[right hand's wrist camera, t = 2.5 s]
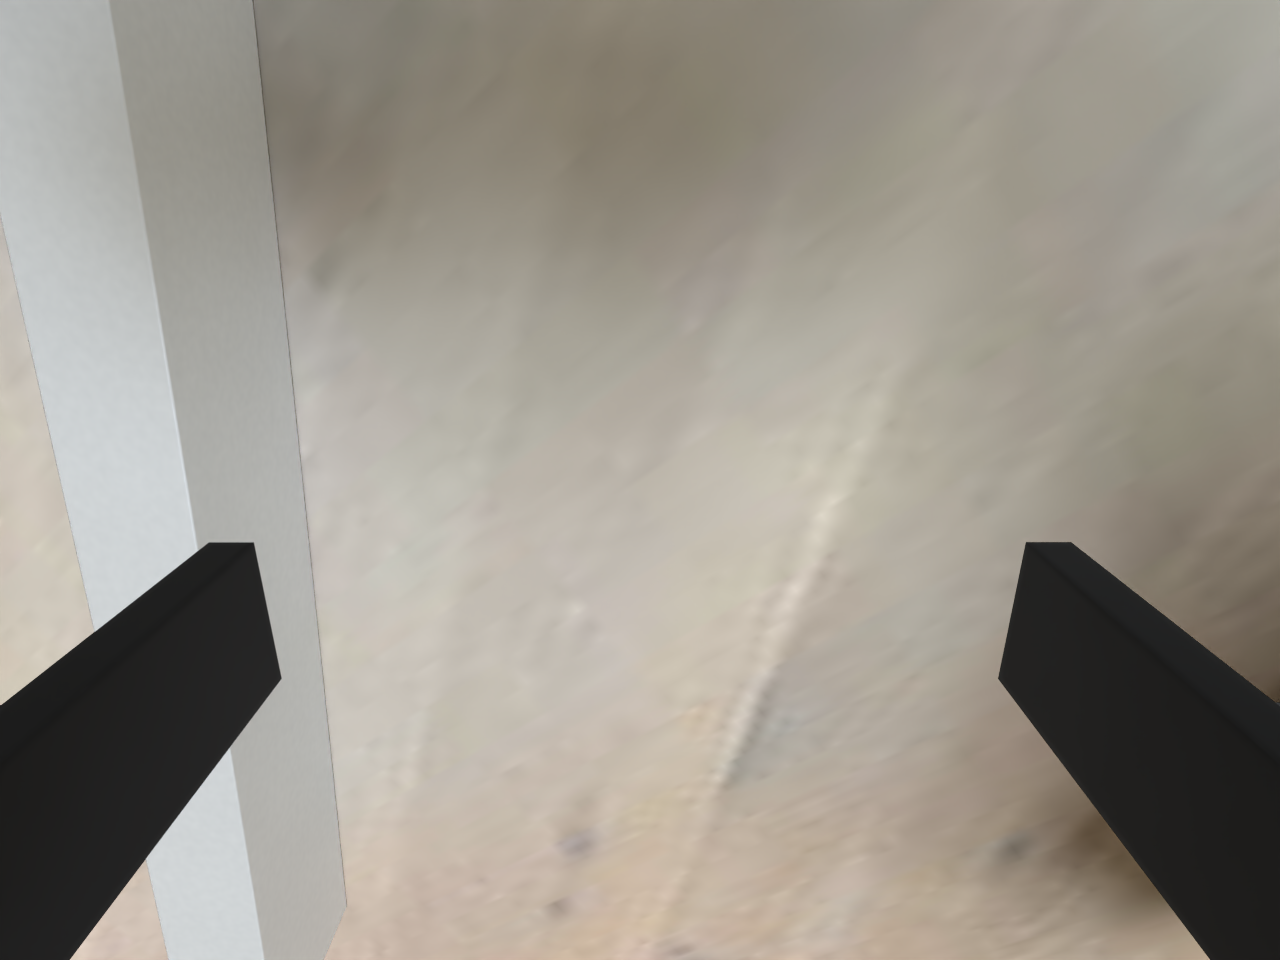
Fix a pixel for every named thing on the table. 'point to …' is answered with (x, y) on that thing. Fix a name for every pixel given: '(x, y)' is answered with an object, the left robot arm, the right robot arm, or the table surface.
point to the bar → (177, 407)
